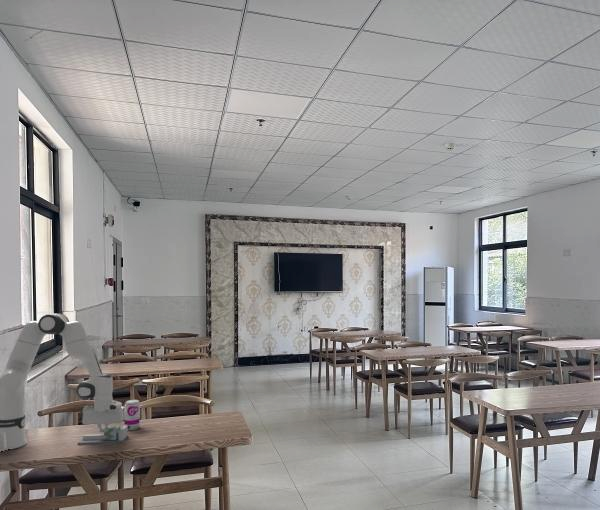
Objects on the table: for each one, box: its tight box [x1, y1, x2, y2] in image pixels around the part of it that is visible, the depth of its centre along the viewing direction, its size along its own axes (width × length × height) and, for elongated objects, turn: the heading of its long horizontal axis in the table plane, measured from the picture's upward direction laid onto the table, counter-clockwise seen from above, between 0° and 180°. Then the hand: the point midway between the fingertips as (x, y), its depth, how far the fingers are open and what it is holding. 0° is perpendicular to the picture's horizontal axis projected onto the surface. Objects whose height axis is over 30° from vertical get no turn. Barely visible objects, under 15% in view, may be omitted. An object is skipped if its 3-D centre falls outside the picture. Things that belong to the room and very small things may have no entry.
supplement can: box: [123, 399, 141, 431], centre depth 248 cm, size 8×8×15 cm
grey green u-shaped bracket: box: [77, 425, 129, 446], centre depth 228 cm, size 22×10×6 cm, turn 95°
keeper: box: [103, 424, 121, 440], centre depth 229 cm, size 6×7×5 cm
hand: (102, 432), depth 228 cm, fingers closed
